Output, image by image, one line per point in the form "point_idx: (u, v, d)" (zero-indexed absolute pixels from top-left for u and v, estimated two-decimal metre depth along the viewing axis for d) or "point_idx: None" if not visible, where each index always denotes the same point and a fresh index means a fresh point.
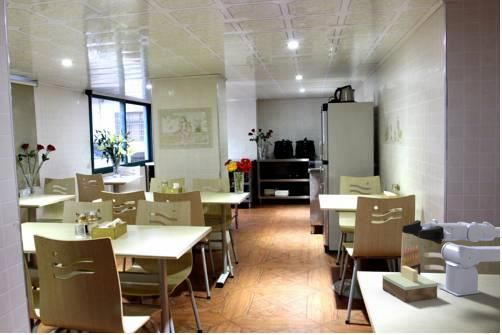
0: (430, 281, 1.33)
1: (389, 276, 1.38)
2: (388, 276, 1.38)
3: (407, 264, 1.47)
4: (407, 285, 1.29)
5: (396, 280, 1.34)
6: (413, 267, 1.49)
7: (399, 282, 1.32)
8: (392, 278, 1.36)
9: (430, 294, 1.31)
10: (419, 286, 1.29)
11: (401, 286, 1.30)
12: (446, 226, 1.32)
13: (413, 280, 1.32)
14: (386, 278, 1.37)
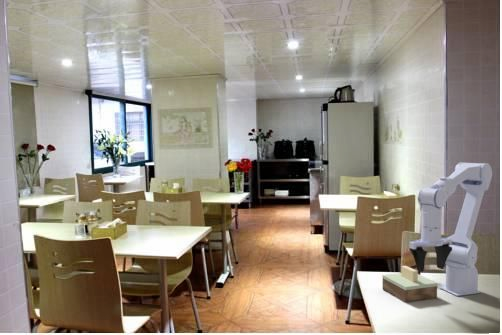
0: (430, 281, 1.33)
1: (389, 276, 1.38)
2: (388, 276, 1.38)
3: (407, 264, 1.47)
4: (407, 285, 1.29)
5: (396, 280, 1.34)
6: (413, 267, 1.49)
7: (399, 282, 1.32)
8: (392, 278, 1.36)
9: (430, 294, 1.31)
10: (419, 286, 1.29)
11: (401, 286, 1.30)
12: None
13: (413, 280, 1.32)
14: (386, 278, 1.37)
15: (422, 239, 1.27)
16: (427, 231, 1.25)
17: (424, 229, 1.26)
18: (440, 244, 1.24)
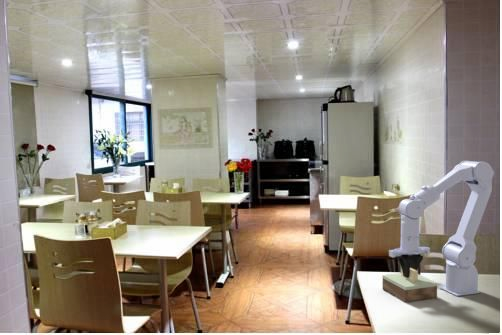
0: (430, 281, 1.33)
1: (389, 276, 1.38)
2: (388, 276, 1.38)
3: None
4: (407, 285, 1.29)
5: (396, 280, 1.34)
6: None
7: (399, 282, 1.32)
8: (392, 278, 1.36)
9: (430, 294, 1.31)
10: (419, 286, 1.29)
11: (401, 286, 1.30)
12: None
13: (413, 280, 1.32)
14: (386, 278, 1.37)
15: (401, 248, 1.34)
16: (405, 240, 1.33)
17: (403, 238, 1.33)
18: (417, 253, 1.31)
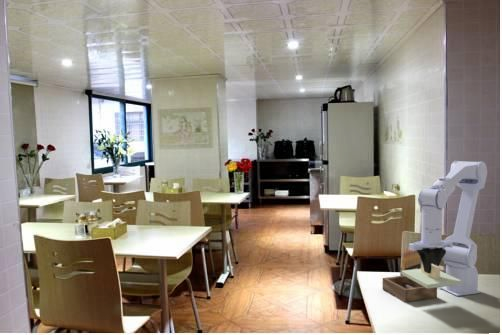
0: (453, 278, 1.23)
1: (408, 272, 1.29)
2: (407, 272, 1.28)
3: (407, 264, 1.47)
4: (429, 282, 1.20)
5: (416, 277, 1.24)
6: (413, 267, 1.49)
7: (420, 279, 1.22)
8: (412, 274, 1.26)
9: (430, 294, 1.31)
10: (442, 284, 1.20)
11: (422, 283, 1.20)
12: (441, 234, 1.23)
13: (435, 277, 1.23)
14: (405, 274, 1.28)
15: (422, 241, 1.25)
16: (427, 233, 1.23)
17: (424, 231, 1.24)
18: (440, 246, 1.21)
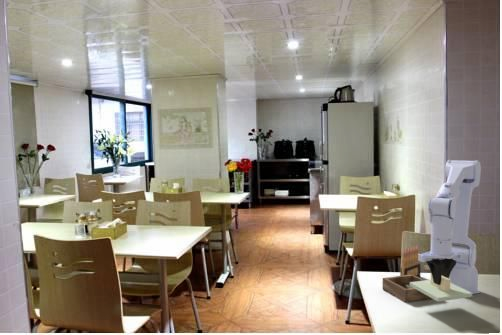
0: (464, 291, 1.19)
1: (417, 283, 1.25)
2: (416, 284, 1.24)
3: (407, 264, 1.47)
4: (439, 296, 1.16)
5: (426, 289, 1.21)
6: (413, 267, 1.49)
7: (430, 292, 1.19)
8: (421, 286, 1.22)
9: None
10: (453, 297, 1.16)
11: (432, 296, 1.16)
12: (451, 244, 1.19)
13: (445, 289, 1.19)
14: (414, 286, 1.24)
15: (432, 251, 1.21)
16: (437, 243, 1.19)
17: (434, 241, 1.20)
18: (451, 257, 1.17)
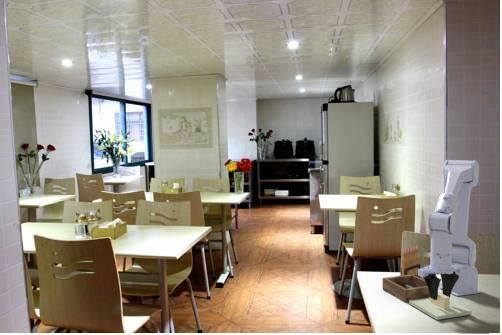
0: (463, 308, 1.20)
1: (416, 301, 1.25)
2: (416, 302, 1.25)
3: (407, 264, 1.47)
4: (439, 314, 1.16)
5: (425, 307, 1.21)
6: (413, 267, 1.49)
7: (429, 310, 1.19)
8: (420, 304, 1.23)
9: None
10: (452, 315, 1.16)
11: (432, 315, 1.17)
12: (451, 259, 1.20)
13: (444, 307, 1.19)
14: (413, 304, 1.24)
15: (431, 266, 1.21)
16: (437, 258, 1.19)
17: (433, 256, 1.20)
18: (450, 272, 1.18)
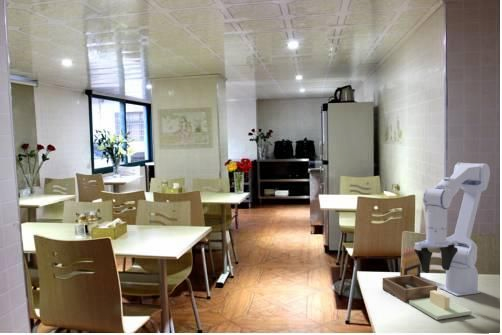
0: (463, 308, 1.20)
1: (416, 301, 1.25)
2: (416, 302, 1.25)
3: (407, 264, 1.47)
4: (438, 314, 1.16)
5: (425, 307, 1.21)
6: (413, 267, 1.49)
7: (429, 310, 1.19)
8: (420, 304, 1.23)
9: None
10: (452, 315, 1.16)
11: (432, 315, 1.17)
12: (446, 233, 1.25)
13: (444, 307, 1.19)
14: (413, 304, 1.24)
15: (427, 240, 1.26)
16: (432, 232, 1.24)
17: (429, 230, 1.25)
18: (445, 245, 1.23)
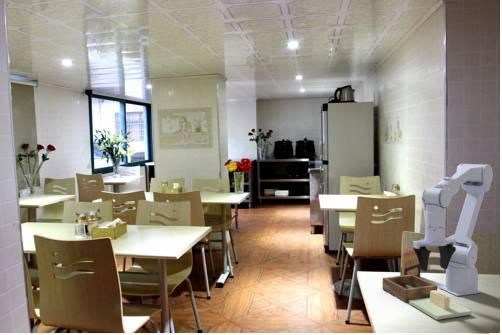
0: (463, 308, 1.20)
1: (416, 301, 1.25)
2: (416, 302, 1.25)
3: (407, 264, 1.47)
4: (438, 314, 1.16)
5: (425, 307, 1.21)
6: (413, 267, 1.49)
7: (429, 310, 1.19)
8: (420, 304, 1.23)
9: None
10: (452, 315, 1.16)
11: (431, 315, 1.17)
12: (444, 232, 1.26)
13: (444, 307, 1.19)
14: (413, 304, 1.24)
15: (426, 239, 1.27)
16: (431, 231, 1.25)
17: (428, 229, 1.26)
18: (444, 244, 1.24)
